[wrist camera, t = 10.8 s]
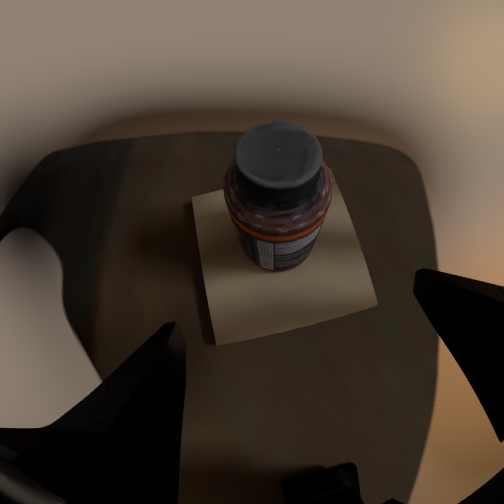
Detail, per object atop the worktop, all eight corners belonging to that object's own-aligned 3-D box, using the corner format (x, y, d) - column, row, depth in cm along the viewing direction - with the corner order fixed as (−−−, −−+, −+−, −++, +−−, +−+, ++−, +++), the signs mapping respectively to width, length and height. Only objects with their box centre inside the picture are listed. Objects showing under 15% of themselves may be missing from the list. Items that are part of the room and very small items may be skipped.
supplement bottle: (234, 213, 23) (206, 116, 12) (303, 200, 23) (319, 99, 12) (247, 281, 21) (220, 220, 11) (321, 266, 21) (364, 193, 10)
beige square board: (372, 306, 21) (377, 304, 20) (219, 345, 21) (216, 345, 20) (328, 174, 25) (330, 167, 24) (195, 203, 25) (191, 197, 24)
